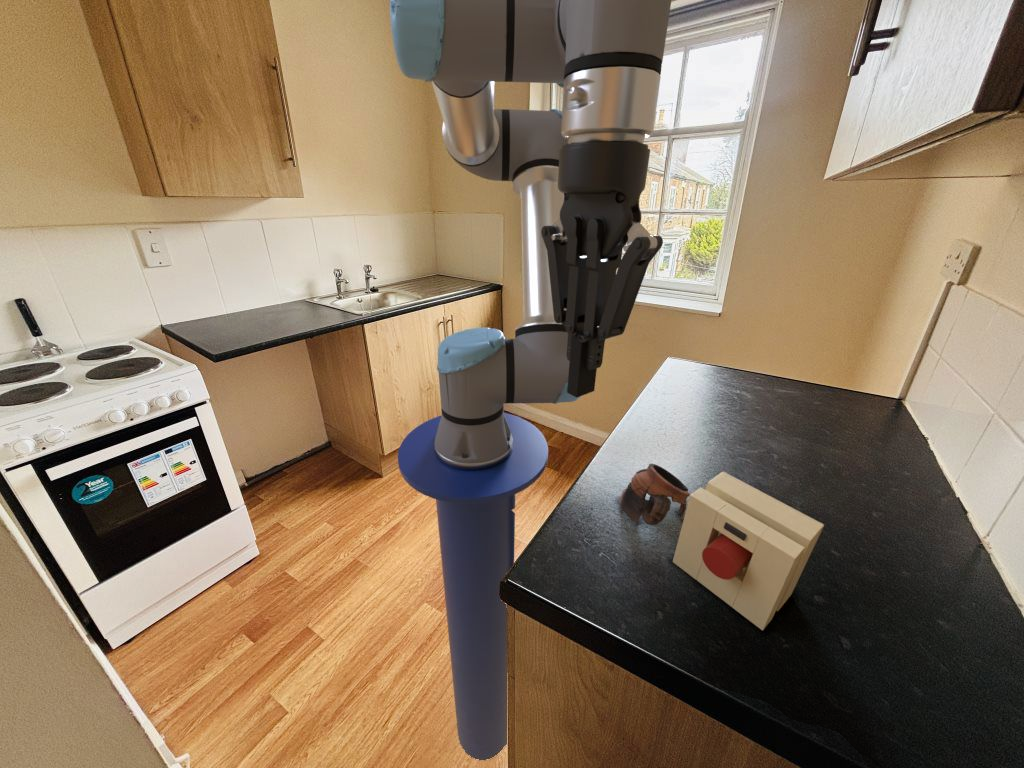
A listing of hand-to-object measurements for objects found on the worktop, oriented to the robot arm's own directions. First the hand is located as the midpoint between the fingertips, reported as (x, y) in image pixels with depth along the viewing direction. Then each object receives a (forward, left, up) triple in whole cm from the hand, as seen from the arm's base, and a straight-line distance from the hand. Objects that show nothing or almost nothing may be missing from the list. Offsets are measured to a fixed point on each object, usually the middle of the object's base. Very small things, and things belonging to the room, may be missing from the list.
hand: (580, 391), depth 44 cm
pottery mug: (+2, +17, -27) cm, 32 cm away
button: (+15, +12, -21) cm, 29 cm away
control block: (+15, +16, -26) cm, 34 cm away
